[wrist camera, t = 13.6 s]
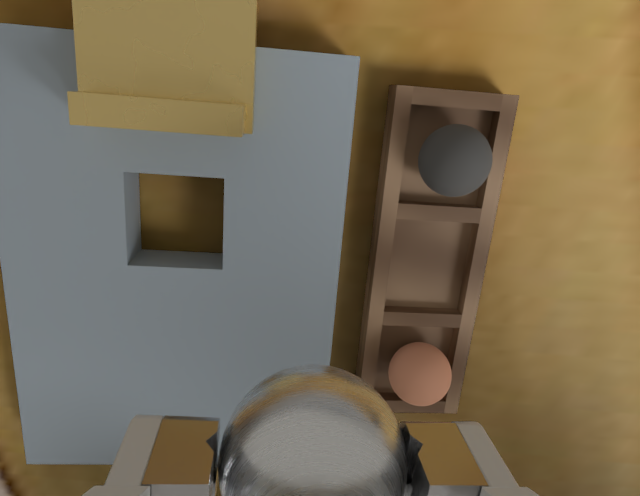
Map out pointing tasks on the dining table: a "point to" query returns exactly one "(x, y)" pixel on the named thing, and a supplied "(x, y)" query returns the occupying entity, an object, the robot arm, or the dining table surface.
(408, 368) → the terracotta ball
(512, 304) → the dining table surface
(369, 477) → the steel ball
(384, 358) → the rack
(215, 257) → the grey flat slab
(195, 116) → the brass cover
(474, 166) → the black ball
